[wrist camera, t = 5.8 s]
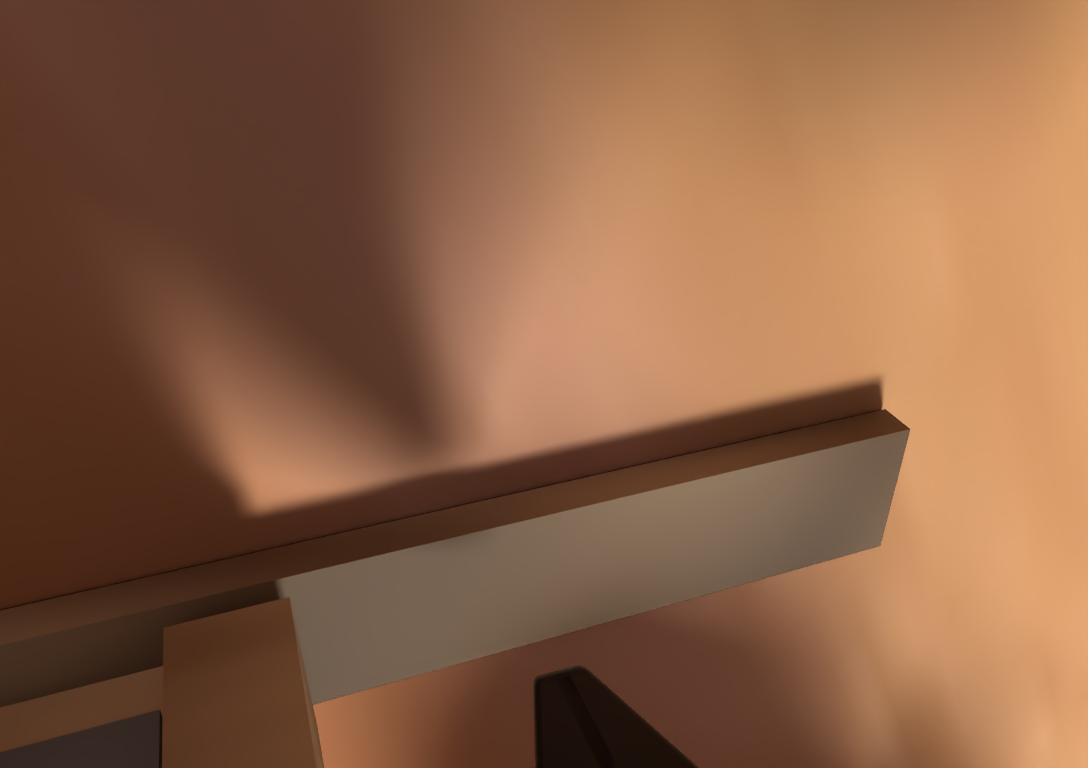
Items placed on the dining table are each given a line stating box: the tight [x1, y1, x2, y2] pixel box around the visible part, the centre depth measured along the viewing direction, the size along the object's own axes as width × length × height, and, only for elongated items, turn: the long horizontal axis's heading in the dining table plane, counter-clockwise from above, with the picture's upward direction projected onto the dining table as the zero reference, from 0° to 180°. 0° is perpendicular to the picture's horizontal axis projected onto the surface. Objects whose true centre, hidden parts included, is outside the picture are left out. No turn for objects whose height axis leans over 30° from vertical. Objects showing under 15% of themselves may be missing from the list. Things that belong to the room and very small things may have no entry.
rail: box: [0, 409, 910, 707], centre depth 10 cm, size 16×2×1 cm, turn 91°
